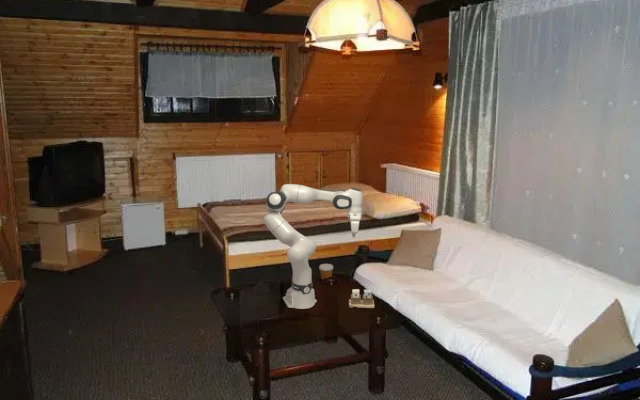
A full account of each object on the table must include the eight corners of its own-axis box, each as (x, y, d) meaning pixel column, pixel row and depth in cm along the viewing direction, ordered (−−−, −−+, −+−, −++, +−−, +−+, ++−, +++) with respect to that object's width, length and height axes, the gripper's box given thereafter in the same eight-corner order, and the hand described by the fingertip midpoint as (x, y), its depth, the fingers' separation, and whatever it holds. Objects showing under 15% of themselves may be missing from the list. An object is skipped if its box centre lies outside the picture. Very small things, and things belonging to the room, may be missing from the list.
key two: (363, 301, 320) (364, 289, 319) (370, 301, 320) (370, 289, 319) (364, 304, 316) (364, 292, 315) (370, 304, 316) (371, 292, 315)
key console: (349, 301, 324) (349, 293, 322) (373, 301, 323) (373, 293, 322) (349, 307, 315) (349, 299, 314) (374, 307, 314) (374, 299, 313)
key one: (352, 301, 321) (352, 289, 319) (359, 301, 321) (359, 289, 319) (352, 303, 317) (352, 291, 315) (359, 304, 316) (359, 292, 315)
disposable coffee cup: (320, 280, 360) (320, 263, 357) (334, 280, 359) (334, 263, 356) (318, 285, 351) (318, 267, 348) (332, 285, 349) (332, 268, 347)
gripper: (349, 210, 333) (348, 232, 336) (350, 218, 313) (349, 240, 315) (359, 211, 333) (358, 232, 335) (360, 218, 313) (359, 241, 315)
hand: (353, 236), depth 325 cm, fingers closed
